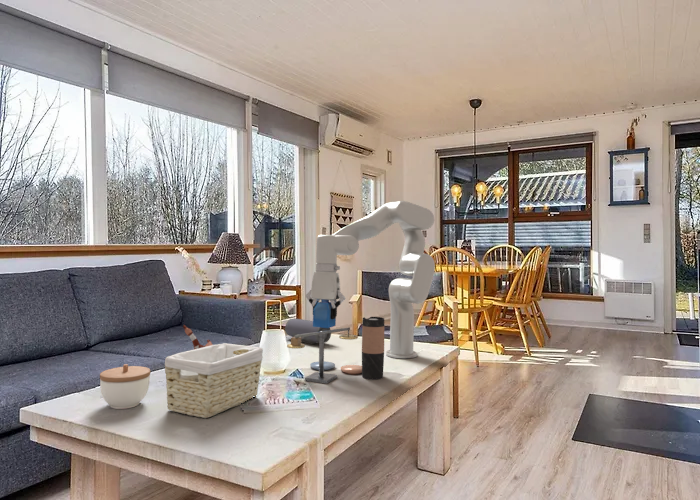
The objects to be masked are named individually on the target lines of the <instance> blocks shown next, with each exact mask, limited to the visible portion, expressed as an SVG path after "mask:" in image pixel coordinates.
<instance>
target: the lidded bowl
mask: <svg viewBox="0 0 700 500" xmlns="http://www.w3.org/2000/svg"><path fill="white" fill-rule="evenodd" d="M150 375H151V369H150V368H149V367H146V366H140V365H129V364H128V363H126V364H125V363H124V364H123V366H119V367H113V368H109V369H106V370H103V371H102V372H100V373H99V379H100V381H99V382H100V383H99V385H100V394H101V396H102V398H103V400H104V402H106V404H108V405H109V406H110V408H112V409H115V410H126V409H131V408H134V407H136V406H137V407H138V406H139V405H140V403H141V402H142V401H143V399H144V398H145V397H146V396H147V395H148V391H149V388H150V383H151V382H150V380H151V376H150Z"/></svg>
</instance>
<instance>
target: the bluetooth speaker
mask: <svg viewBox="0 0 700 500" xmlns="http://www.w3.org/2000/svg"><path fill="white" fill-rule="evenodd" d="M327 330H331V327H330V328H322V327H313V320H309V319H301V318H290V319H288V320H287V321H286V323H285V327H284V331H285V334H286V335H287V336H289V337H290V338H292V337H295V335H299V334H306V333H313V332H320V331H327ZM331 336H332V333H326V334H325V336H324V344H326V343H328V342H329V340H330V339H331ZM301 343H306V344H310V345H311V344H312V345H315V344H319V335H312V336H305V337H301Z"/></svg>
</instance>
